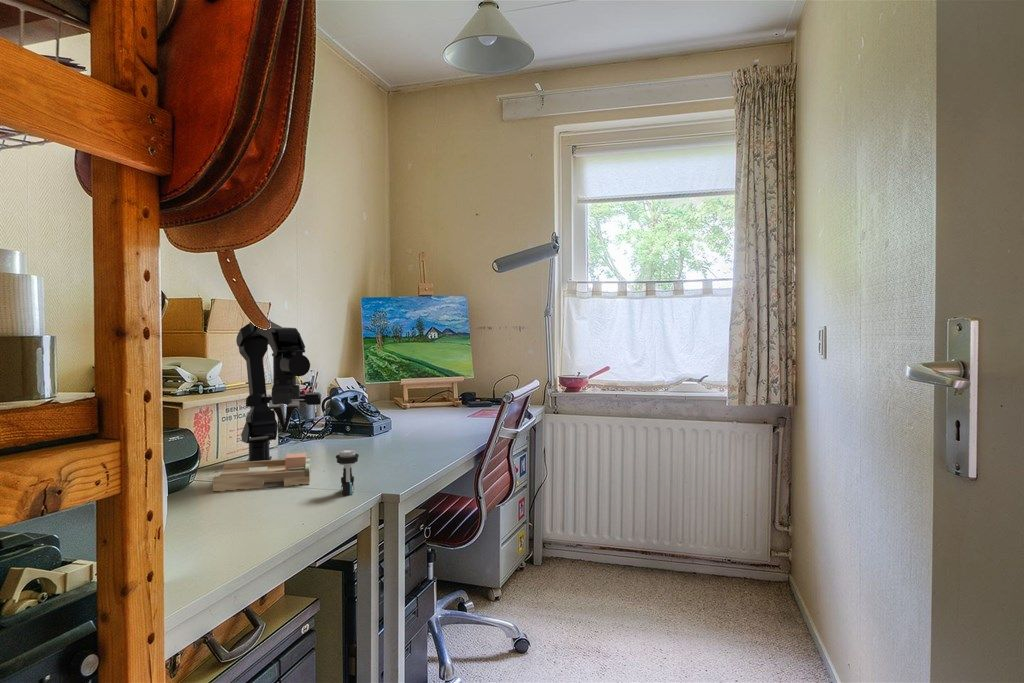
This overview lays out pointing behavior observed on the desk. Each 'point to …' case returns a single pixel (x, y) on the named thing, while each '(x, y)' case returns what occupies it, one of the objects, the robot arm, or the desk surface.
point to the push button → (347, 469)
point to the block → (295, 461)
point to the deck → (260, 475)
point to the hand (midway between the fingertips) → (284, 430)
